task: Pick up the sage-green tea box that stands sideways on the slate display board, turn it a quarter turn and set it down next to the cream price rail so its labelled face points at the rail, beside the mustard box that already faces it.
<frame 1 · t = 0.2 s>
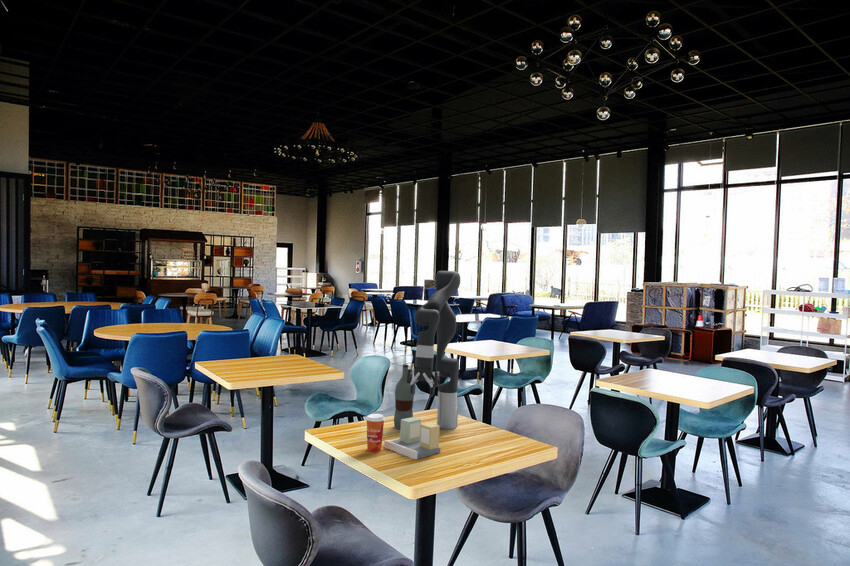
hand: (421, 395, 225), 22 cm above the table, tool pointing down, fingers open, 8 cm apart
display board: (412, 449, 222), on the table
tea box: (410, 440, 228), point 2 cm above the table, touching display board
mustard box: (429, 446, 220), point 2 cm above the table, touching display board
paper cup: (374, 450, 220), on the table
bottle: (403, 428, 254), on the table
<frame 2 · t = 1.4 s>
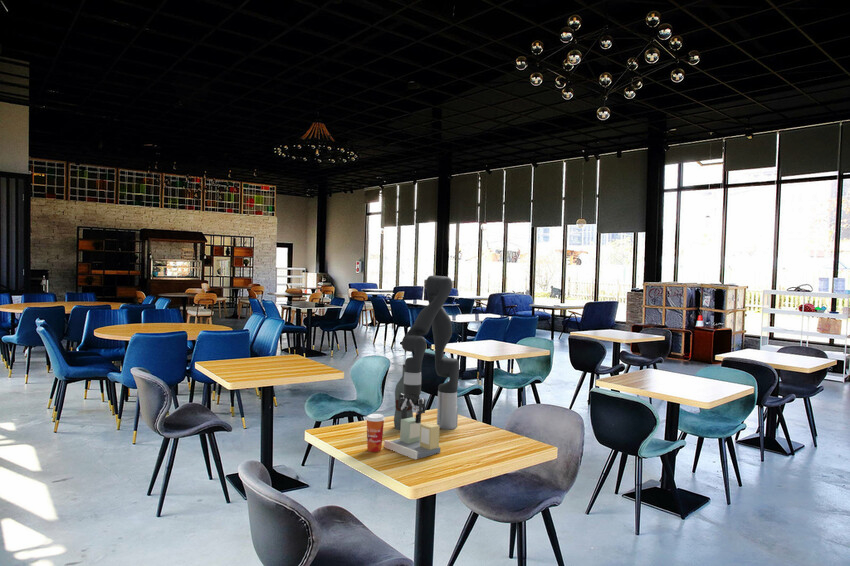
hand: (410, 420, 228), 10 cm above the table, tool pointing down, fingers open, 8 cm apart
nothing on the table moved.
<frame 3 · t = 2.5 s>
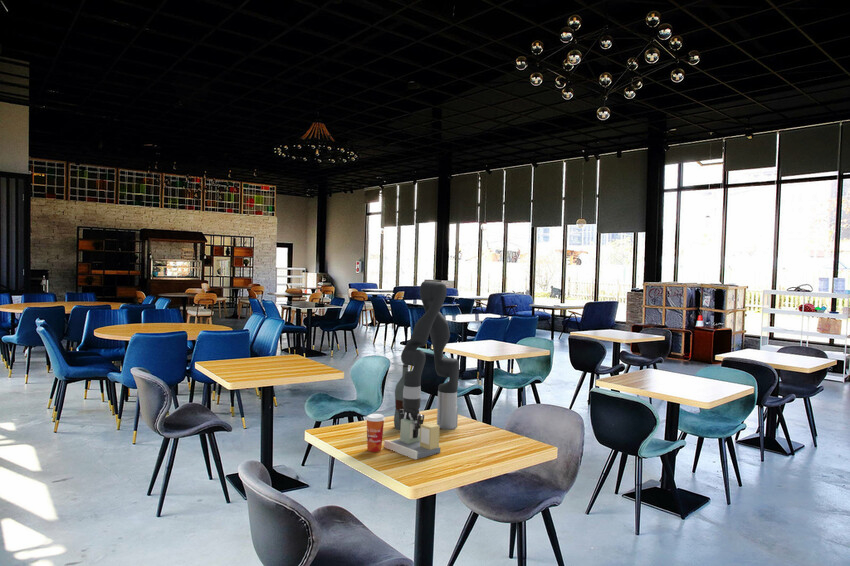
hand: (410, 436, 228), 4 cm above the table, tool pointing down, fingers closed on tea box, 5 cm apart
tea box: (410, 440, 228), point 2 cm above the table, touching display board, gripper
everything else where it was.
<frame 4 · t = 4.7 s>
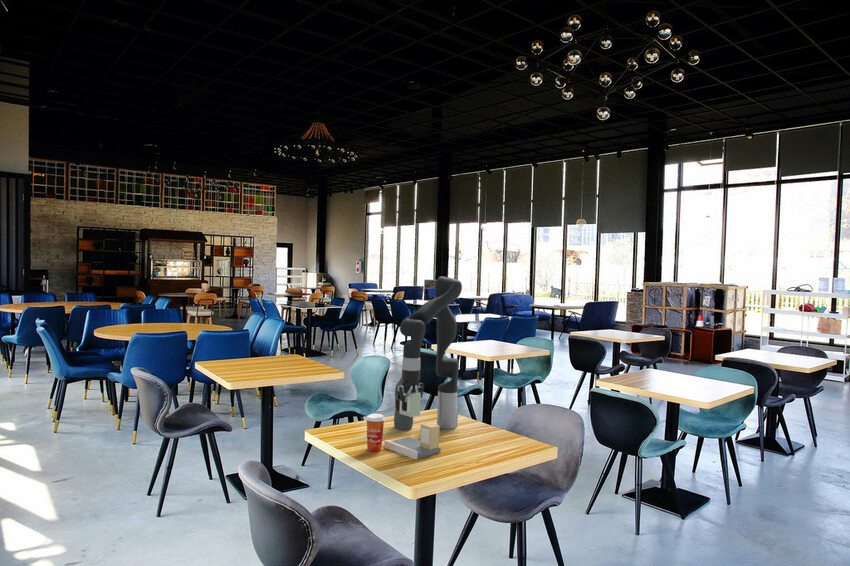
hand: (409, 409, 220), 17 cm above the table, tool pointing down, fingers closed on tea box, 5 cm apart
tea box: (409, 414, 220), point 15 cm above the table, touching gripper
everything else where it was.
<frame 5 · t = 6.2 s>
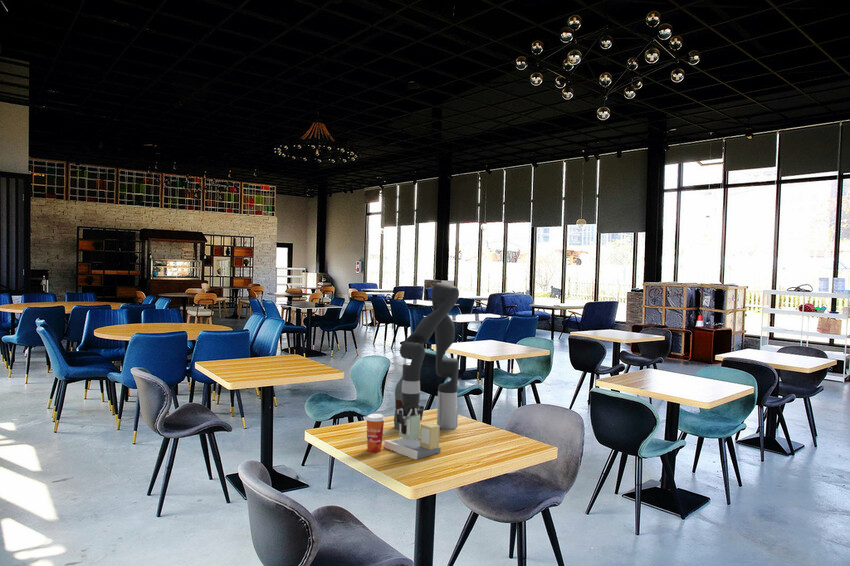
hand: (409, 432, 220), 8 cm above the table, tool pointing down, fingers closed on tea box, 5 cm apart
tea box: (409, 437, 220), point 6 cm above the table, touching gripper
everything else where it was.
when the fingers open (5 cm above the table, at t = 7.2 s): tea box drops 1 cm, resting on display board.
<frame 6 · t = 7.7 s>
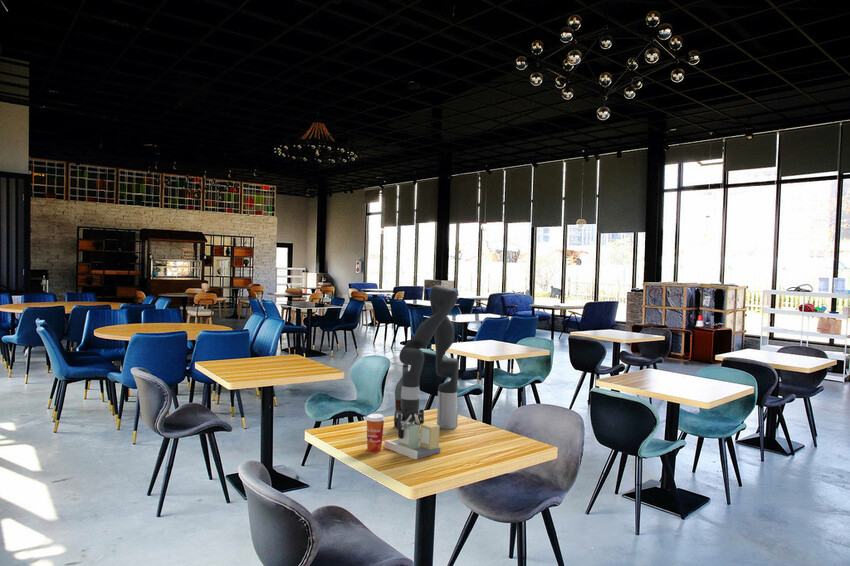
hand: (408, 436, 220), 6 cm above the table, tool pointing down, fingers open, 8 cm apart
tea box: (408, 446, 220), point 2 cm above the table, touching display board
everything else where it was.
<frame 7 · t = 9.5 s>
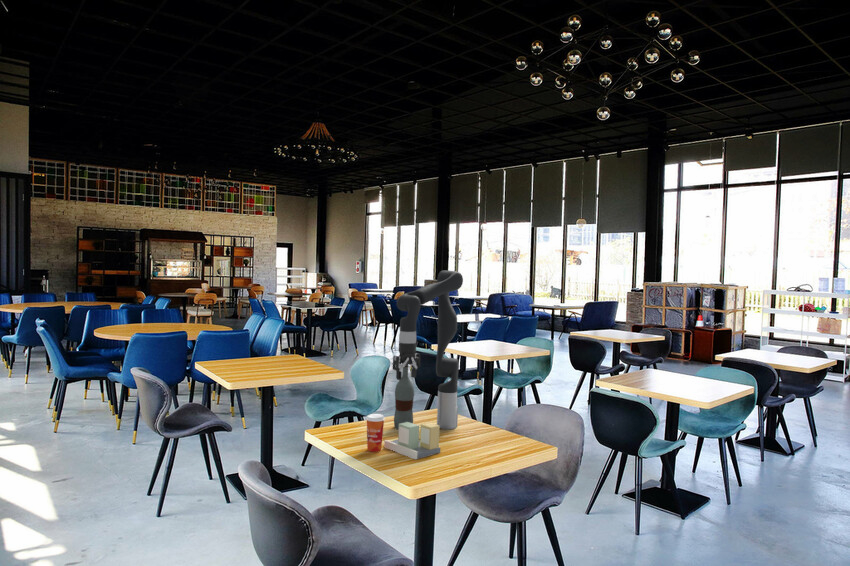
hand: (406, 378, 233), 27 cm above the table, tool pointing down, fingers open, 8 cm apart
nothing on the table moved.
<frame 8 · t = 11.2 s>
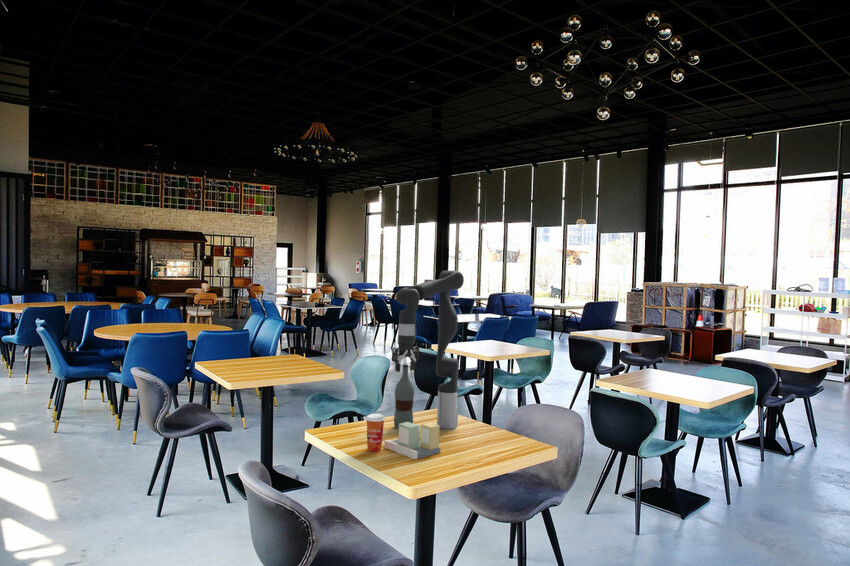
hand: (405, 370, 236), 30 cm above the table, tool pointing down, fingers open, 8 cm apart
nothing on the table moved.
at the end: tea box inside the target area (0.2 cm from its centre), point 2.0 cm above the table; tea box tilted 0°; the gripper is holding nothing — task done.
